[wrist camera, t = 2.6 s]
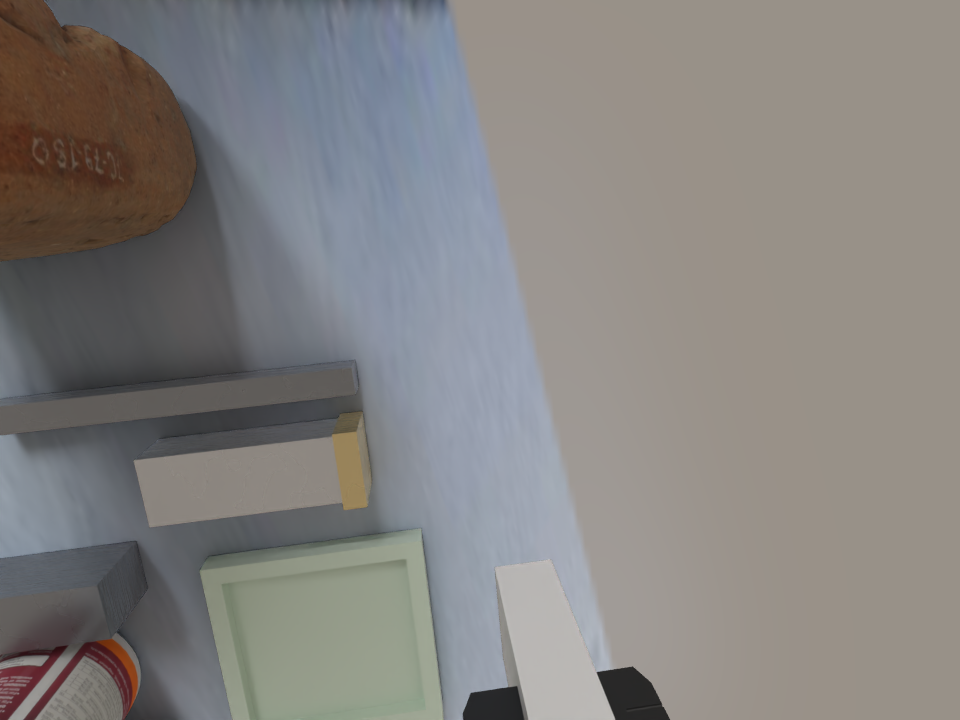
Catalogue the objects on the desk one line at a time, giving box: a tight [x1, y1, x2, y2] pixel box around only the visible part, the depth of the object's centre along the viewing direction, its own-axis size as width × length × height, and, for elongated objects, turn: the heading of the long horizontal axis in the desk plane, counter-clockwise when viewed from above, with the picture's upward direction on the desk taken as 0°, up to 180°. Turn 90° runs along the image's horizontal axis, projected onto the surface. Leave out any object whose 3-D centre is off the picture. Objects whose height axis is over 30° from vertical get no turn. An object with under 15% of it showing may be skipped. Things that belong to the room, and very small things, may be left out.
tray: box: [200, 528, 444, 720], centre depth 29 cm, size 10×10×1 cm
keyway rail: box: [0, 360, 359, 435], centre depth 26 cm, size 1×15×2 cm, turn 95°
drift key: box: [134, 411, 372, 528], centre depth 26 cm, size 3×9×3 cm, turn 95°
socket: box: [0, 541, 148, 655], centre depth 27 cm, size 12×8×4 cm, turn 5°
